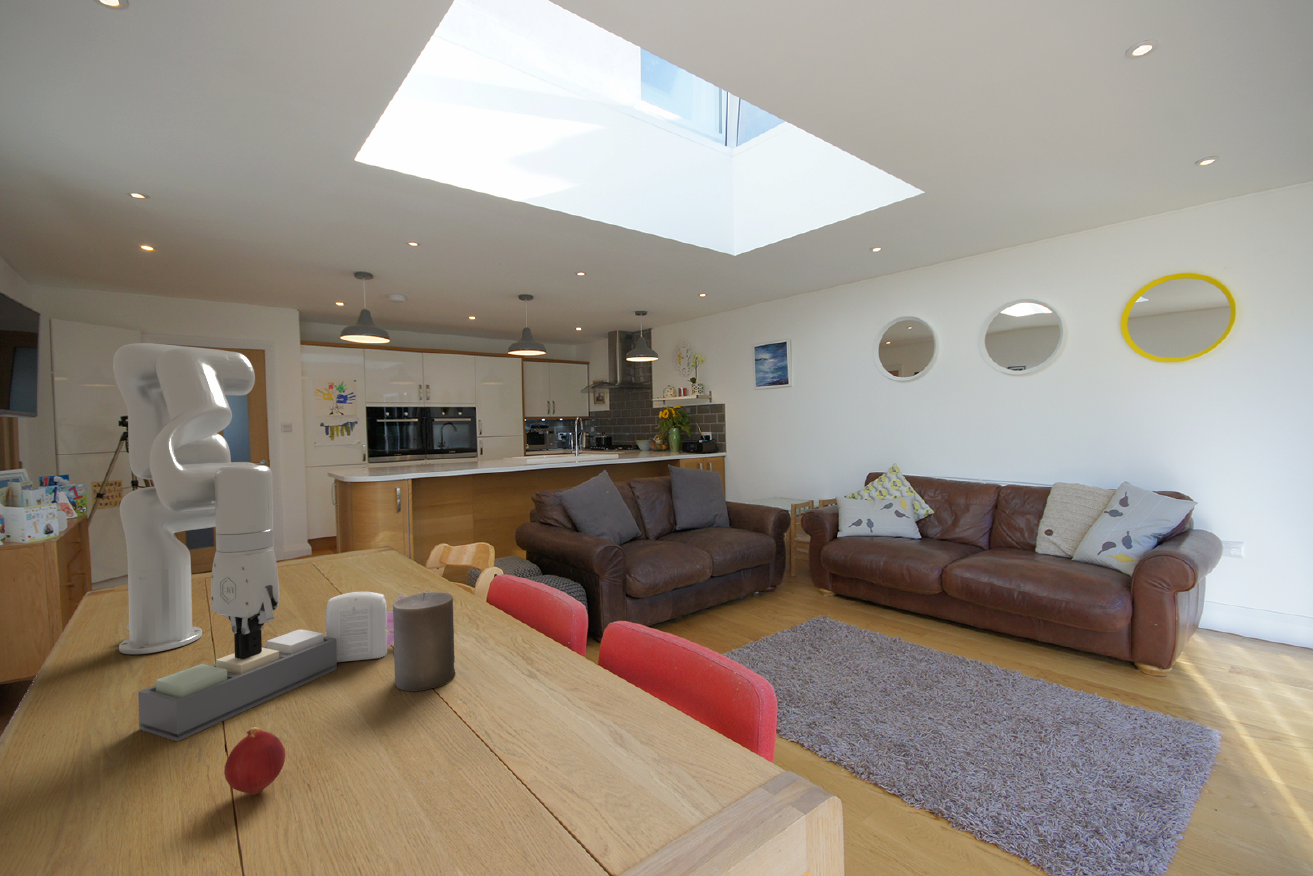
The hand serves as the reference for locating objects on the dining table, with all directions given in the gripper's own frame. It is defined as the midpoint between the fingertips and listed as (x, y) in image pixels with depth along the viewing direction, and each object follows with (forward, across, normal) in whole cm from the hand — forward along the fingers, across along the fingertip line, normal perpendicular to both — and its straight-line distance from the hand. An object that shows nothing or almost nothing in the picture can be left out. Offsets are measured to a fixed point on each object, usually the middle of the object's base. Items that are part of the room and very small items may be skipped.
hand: (248, 655), depth 91 cm
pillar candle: (+7, +22, +15) cm, 27 cm away
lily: (+7, +6, +26) cm, 28 cm away
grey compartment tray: (+7, 0, 0) cm, 7 cm away
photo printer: (+7, +3, +18) cm, 19 cm away
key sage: (+4, 0, -8) cm, 9 cm away
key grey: (+4, 0, +8) cm, 9 cm away
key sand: (+4, 0, 0) cm, 4 cm away
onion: (+7, +26, -16) cm, 31 cm away
